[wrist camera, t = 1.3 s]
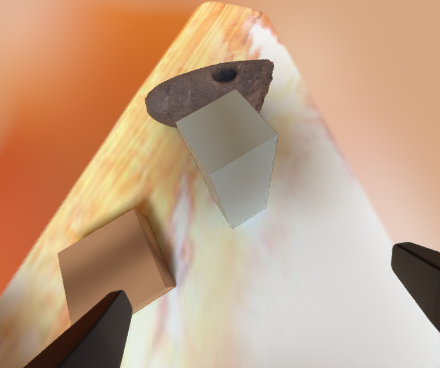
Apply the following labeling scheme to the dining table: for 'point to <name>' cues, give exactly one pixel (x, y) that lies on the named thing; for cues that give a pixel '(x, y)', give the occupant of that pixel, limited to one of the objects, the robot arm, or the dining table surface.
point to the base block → (115, 266)
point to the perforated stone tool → (209, 89)
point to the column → (232, 154)
